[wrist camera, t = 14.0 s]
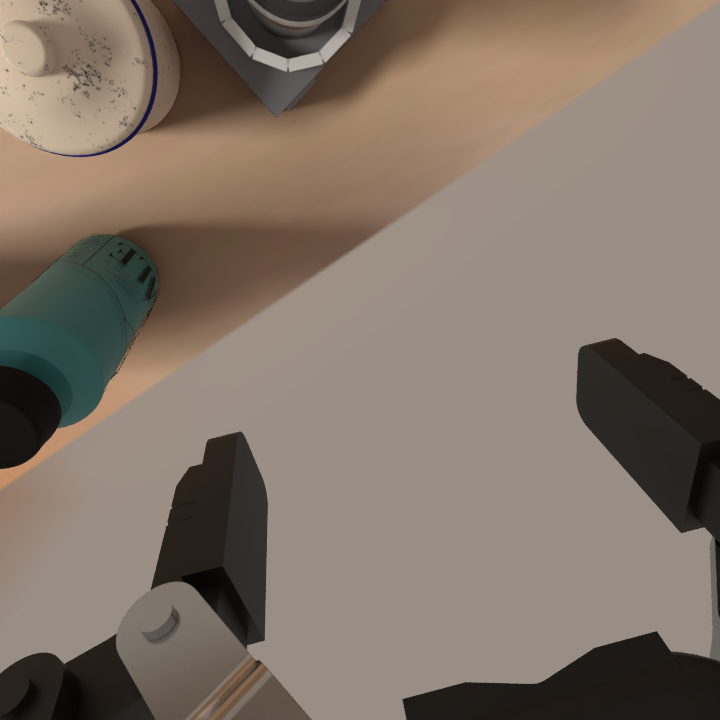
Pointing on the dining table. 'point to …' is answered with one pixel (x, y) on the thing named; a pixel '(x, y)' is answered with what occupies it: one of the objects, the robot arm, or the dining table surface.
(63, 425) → the beverage bottle
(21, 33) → the teacup with lid
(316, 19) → the lens
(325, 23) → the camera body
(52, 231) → the dining table surface
